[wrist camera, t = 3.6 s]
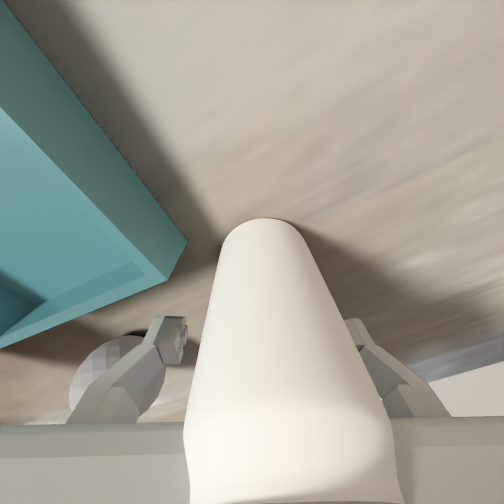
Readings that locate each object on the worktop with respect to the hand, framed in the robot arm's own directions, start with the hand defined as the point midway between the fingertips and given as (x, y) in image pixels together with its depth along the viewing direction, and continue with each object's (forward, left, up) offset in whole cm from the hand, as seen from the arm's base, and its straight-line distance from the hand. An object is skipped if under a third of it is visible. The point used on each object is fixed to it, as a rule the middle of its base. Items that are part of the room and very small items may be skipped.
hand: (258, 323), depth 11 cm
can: (-1, -1, -6) cm, 6 cm away
